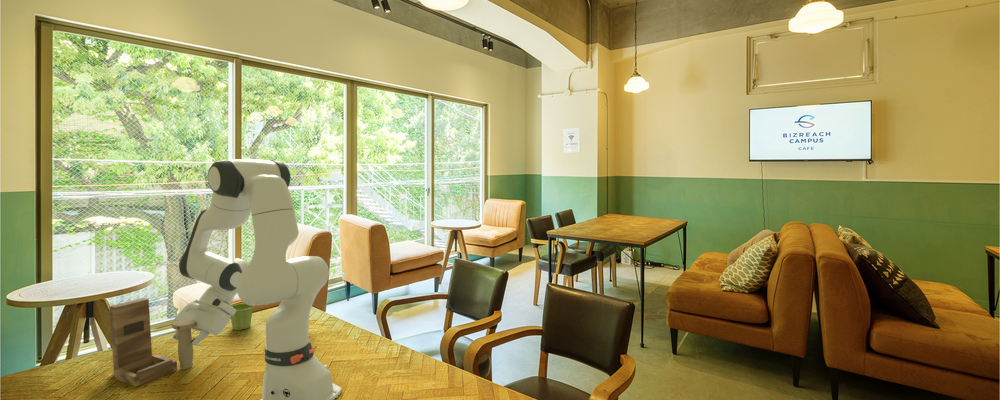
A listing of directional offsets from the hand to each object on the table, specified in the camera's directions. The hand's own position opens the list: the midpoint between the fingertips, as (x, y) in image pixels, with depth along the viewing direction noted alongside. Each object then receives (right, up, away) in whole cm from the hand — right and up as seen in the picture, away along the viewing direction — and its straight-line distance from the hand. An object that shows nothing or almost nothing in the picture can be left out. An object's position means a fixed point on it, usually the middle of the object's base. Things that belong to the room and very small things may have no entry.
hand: (184, 341), depth 139 cm
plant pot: (-2, -6, +35) cm, 35 cm away
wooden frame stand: (-10, -9, -3) cm, 14 cm away
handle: (0, -9, +1) cm, 9 cm away
